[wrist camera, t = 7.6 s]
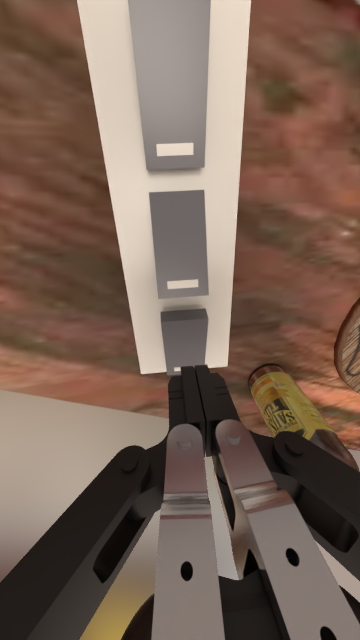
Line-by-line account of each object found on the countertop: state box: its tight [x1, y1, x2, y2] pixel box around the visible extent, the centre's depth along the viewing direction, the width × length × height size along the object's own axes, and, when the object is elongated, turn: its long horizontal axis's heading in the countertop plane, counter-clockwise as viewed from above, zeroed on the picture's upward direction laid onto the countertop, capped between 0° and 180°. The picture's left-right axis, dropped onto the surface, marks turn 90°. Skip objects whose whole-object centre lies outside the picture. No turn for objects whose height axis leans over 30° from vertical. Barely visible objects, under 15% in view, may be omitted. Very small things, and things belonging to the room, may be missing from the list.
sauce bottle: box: [249, 365, 359, 472], centre depth 22 cm, size 7×6×20 cm
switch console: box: [77, 0, 251, 374], centre depth 20 cm, size 27×10×5 cm, turn 3°
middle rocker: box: [149, 190, 209, 299], centre depth 16 cm, size 8×4×2 cm, turn 3°
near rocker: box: [128, 0, 211, 170], centre depth 12 cm, size 8×4×2 cm, turn 3°
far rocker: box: [160, 308, 209, 375], centre depth 20 cm, size 8×4×2 cm, turn 3°
